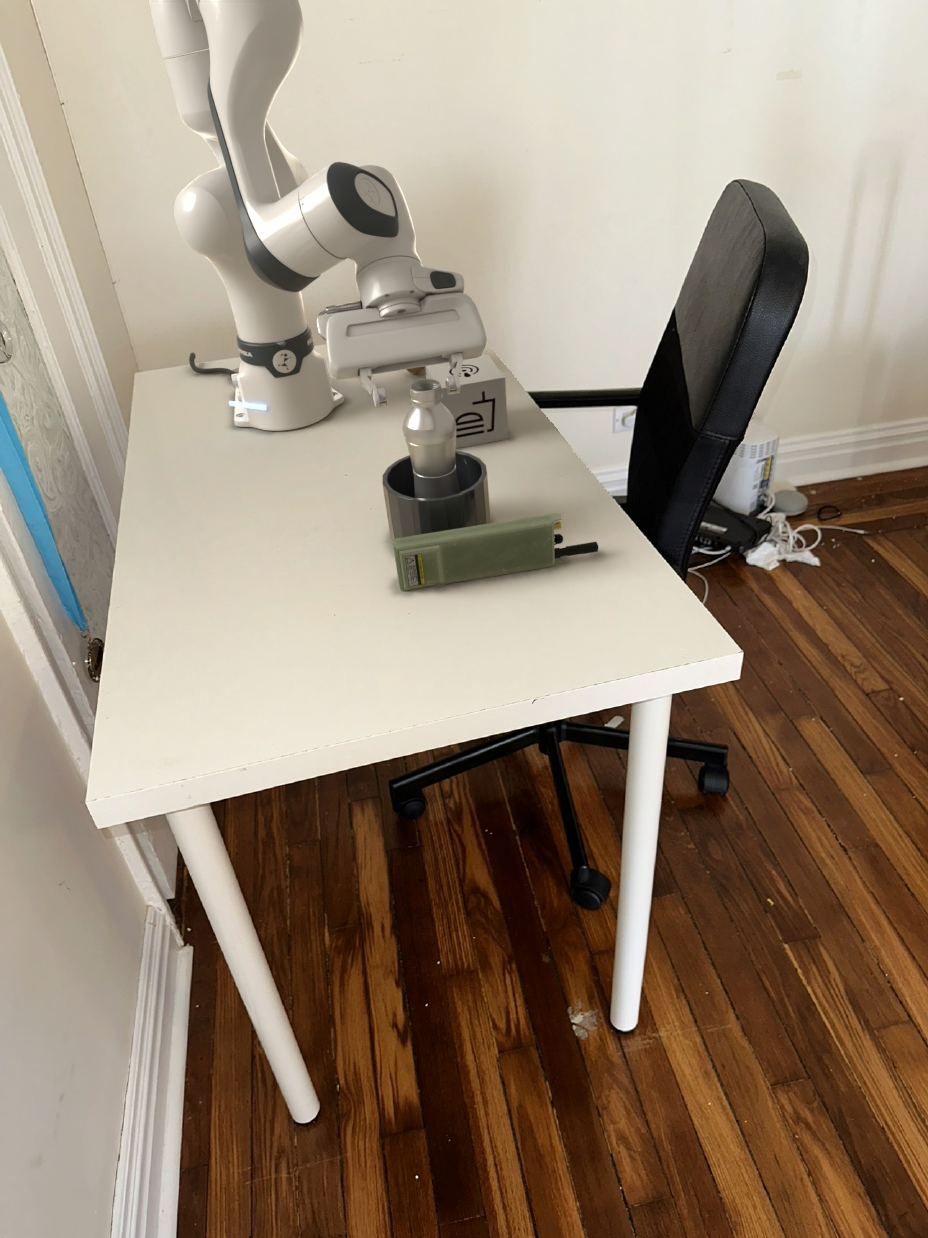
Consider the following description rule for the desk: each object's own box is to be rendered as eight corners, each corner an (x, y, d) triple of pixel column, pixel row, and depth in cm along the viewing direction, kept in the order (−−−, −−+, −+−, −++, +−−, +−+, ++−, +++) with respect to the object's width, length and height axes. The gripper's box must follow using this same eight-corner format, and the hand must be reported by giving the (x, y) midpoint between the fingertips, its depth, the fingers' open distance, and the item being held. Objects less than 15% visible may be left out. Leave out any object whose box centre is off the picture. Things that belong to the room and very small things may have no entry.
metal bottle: (461, 543, 118) (447, 396, 105) (410, 541, 119) (391, 396, 107) (471, 517, 122) (459, 374, 110) (422, 515, 124) (404, 373, 112)
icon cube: (508, 438, 142) (505, 377, 136) (445, 450, 140) (439, 388, 134) (491, 413, 149) (487, 353, 143) (431, 423, 148) (425, 364, 142)
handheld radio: (398, 579, 114) (593, 547, 116) (401, 595, 111) (601, 562, 113) (391, 534, 109) (594, 502, 112) (394, 550, 107) (602, 516, 109)
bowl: (378, 523, 125) (369, 464, 119) (469, 499, 128) (464, 441, 122) (409, 572, 115) (401, 510, 109) (506, 545, 118) (503, 483, 112)
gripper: (312, 295, 112) (336, 402, 110) (474, 272, 115) (499, 375, 113) (314, 320, 118) (336, 421, 116) (467, 296, 121) (491, 395, 120)
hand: (418, 398), depth 115 cm, fingers open, 8 cm apart
